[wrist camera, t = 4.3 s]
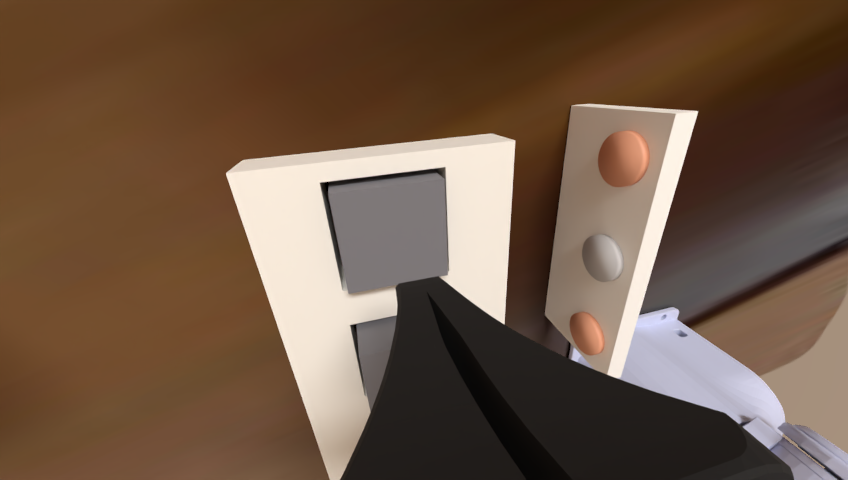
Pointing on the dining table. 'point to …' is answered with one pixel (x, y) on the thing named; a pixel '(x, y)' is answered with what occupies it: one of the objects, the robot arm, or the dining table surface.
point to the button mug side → (390, 228)
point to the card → (612, 223)
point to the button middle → (374, 352)
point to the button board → (323, 272)
